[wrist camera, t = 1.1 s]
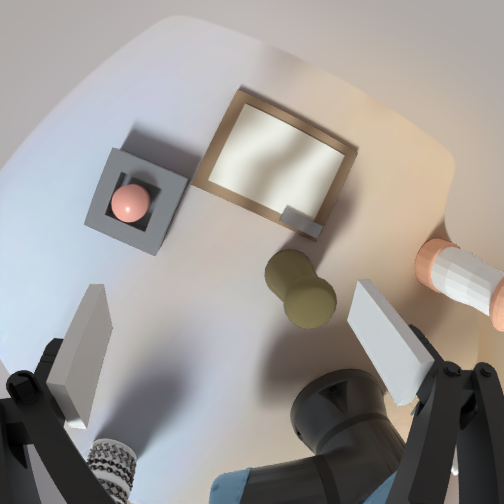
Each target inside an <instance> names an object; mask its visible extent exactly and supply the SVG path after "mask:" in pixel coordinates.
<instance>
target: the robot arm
mask: <svg viewBox="0 0 504 504" xmlns="http://www.w3.org/2000/svg"><path fill="white" fill-rule="evenodd" d="M347 321H348V323H349V325H350V326H351V328H352V330H353V331H354V333H355V335H356V336H357V338H358V340H359V341H360V343H361V345H362V346H363V348H364V350H365V351H366V353H367V355H368V356H369V358H370V360H371V361H372V363H373V365H374V366H375V368H376V370H377V372H378V373H379V375H380V377H381V378H382V380H383V382H384V384H385V385H386V387H387V389H388V391H389V392H390V394H391V396H392V398H393V399H394V401H395V403H396V405H397V406H398V407H399V406H402V405H406V404H409V403H411V402H412V401H413V399H414V397H415V395H417V396H418V398H419V402H418V403H417V405H416V406H415V408H414V410H413V411H412V413H411V415H413V414H414V412H415V414H414V417H413V421H412V425H411V428H410V432H409V435H408V439H407V442H406V443H405V442H404V440H403V439H402V438H401V436H400V435H399V433H398V432H397V430H396V429H395V428H394V426H393V425H392V423H391V422H390V420H389V419H388V417H387V413H386V408H385V404H384V399H383V392H382V390H381V388H380V386H379V384H378V383H377V382H376V380H375V379H374V378H373V377H372V376H371V375H370V374H368V373H366V372H364V371H361V370H355V369H346V370H340V371H335V372H332V373H329V374H327V375H325V376H323V377H321V378H319V379H317V380H315V381H314V382H312V383H311V384H310V385H308V386H307V387H306V388H305V389H304V390H303V391H302V392H301V393H300V394H299V396H298V397H297V398H296V400H295V402H294V404H293V406H292V409H291V415H290V417H291V422H292V426H293V428H294V431H295V433H296V435H297V436H298V438H299V439H300V440H301V441H302V442H303V443H304V444H305V445H306V446H307V447H308V448H309V449H310V450H311V451H312V452H313V453H314V454H315V455H316V456H313V457H308V458H303V459H299V460H294V461H290V462H285V463H280V464H274V465H269V466H263V467H257V468H251V467H250V468H247V469H246V470H240V471H235V472H229V473H224V474H221V475H219V476H218V477H217V478H216V479H215V480H214V482H213V484H212V487H211V491H210V498H209V504H444V500H445V496H446V492H447V488H448V483H449V479H450V474H451V469H452V464H453V459H454V454H455V448H456V449H457V461H458V478H459V504H504V395H503V391H502V388H501V385H500V382H499V379H498V376H497V372H496V371H495V369H494V368H493V367H492V366H491V365H489V364H488V363H484V362H480V363H478V364H476V366H475V368H474V369H473V370H462V369H461V368H460V367H459V366H458V365H457V364H455V363H453V362H449V361H444V360H443V359H442V357H441V356H440V355H439V354H438V352H437V351H436V350H435V348H434V347H433V346H432V345H431V344H430V343H429V341H428V340H427V338H425V336H424V335H423V333H422V332H421V331H420V330H419V329H417V328H416V327H415V326H413V325H412V324H411V325H407V324H406V323H405V321H404V320H403V319H402V318H401V316H400V315H399V314H398V313H397V312H396V310H395V309H394V308H393V307H392V305H391V304H390V303H389V302H388V301H387V299H386V298H385V297H384V296H383V294H382V293H381V292H380V291H379V290H378V289H377V287H376V286H375V285H374V284H373V283H372V281H371V280H370V279H367V280H358V281H357V285H356V289H355V293H354V297H353V301H352V305H351V308H350V312H349V316H348V319H347ZM112 329H113V327H112V322H111V318H110V313H109V308H108V304H107V299H106V293H105V288H104V284H90V285H89V287H88V289H87V291H86V293H85V295H84V297H83V299H82V301H81V303H80V305H79V307H78V309H77V312H76V314H75V316H74V318H73V320H72V322H71V324H70V327H69V329H68V331H67V333H66V335H65V338H64V339H58V338H54V339H53V340H52V341H51V342H50V343H49V344H48V345H47V346H46V348H45V350H44V352H43V355H42V357H41V359H40V362H39V363H38V366H37V368H36V370H35V372H34V374H33V373H32V372H30V371H27V370H21V371H17V372H15V373H14V374H12V375H11V376H10V377H9V378H8V380H7V383H6V389H7V391H8V393H9V394H10V396H11V398H5V399H0V504H41V501H40V498H39V494H38V490H37V487H36V483H35V479H34V475H33V471H32V467H31V463H30V458H29V454H28V449H27V445H28V444H34V446H35V448H36V450H37V452H38V454H39V456H40V458H41V460H42V462H43V464H44V465H45V467H46V469H47V471H48V473H49V474H50V476H51V478H52V479H53V481H54V483H55V485H56V486H57V488H58V490H59V491H60V493H61V494H62V496H63V498H64V499H65V501H66V502H67V504H117V503H116V501H115V500H114V499H113V498H112V496H111V495H110V494H109V493H108V491H107V490H106V489H105V488H104V486H103V485H102V484H101V482H100V481H99V480H98V478H97V477H96V476H95V474H94V473H93V471H92V470H91V469H90V467H89V466H88V464H87V463H86V461H85V460H84V459H83V457H82V456H81V454H80V453H79V451H78V450H77V448H76V446H75V445H74V443H73V442H72V440H71V439H70V437H69V435H68V434H67V432H66V430H65V429H64V423H65V419H66V421H67V423H68V424H69V426H70V427H74V428H81V429H87V426H88V421H89V417H90V412H91V408H92V404H93V399H94V395H95V391H96V387H97V383H98V379H99V375H100V371H101V368H102V364H103V360H104V357H105V353H106V350H107V346H108V343H109V339H110V336H111V332H112Z"/></svg>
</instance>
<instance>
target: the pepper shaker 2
mask: <svg viewBox="0 0 504 504" xmlns="http://www.w3.org/2000/svg"><path fill="white" fill-rule="evenodd" d="M415 273H416V277H417V278H418V280H419V282H421V283H422V284H424V285H425V286H427V287H429V288H430V289H432V290H433V291H435V292H437V293H444V294H445V295H447V296H448V297H450V298H451V299H453V300H455V301H458V302H461V303H464V304H467V305H470V306H473V307H474V308H476V309H478V310H479V311H481V312H483V313H484V314H486V315H488V316H489V317H490V320H491V322H492V325H493V326H494V328H495V329H497V330H498V331H501V332H504V272H503V271H501V270H499V269H497V268H494V267H492V266H490V265H488V264H487V263H485V262H484V261H483V260H481V259H480V258H478V257H477V256H476V255H474V254H473V253H470V252H467V251H464V250H462V249H460V247H458V246H457V245H456V244H453V243H451V242H448V241H445V240H443V239H439V238H435V239H431V240H429V241H428V242H426V243H425V244H424V245H423V246H422V247H421V249H420V251H419V253H418V254H417V258H416V261H415Z"/></svg>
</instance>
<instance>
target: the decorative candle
mask: <svg viewBox="0 0 504 504" xmlns="http://www.w3.org/2000/svg"><path fill="white" fill-rule="evenodd" d="M91 448H92V449H90V451H91V453H89V455H88V457H89V458H90V459H87V461H88V462H86V463H87V464H88V466H89V467H90V469H91V470H92V471H93V473H94V474H95V476H96V477H97V478H98V480H99V481H100V482H101V484H102V485H103V486H104V488H105V489H106V490H107V491H108V493H109V494H110V495H111V496H112V498H113V499H114V500H115V501H116V503H117V504H127V499H128V498H129V494H130V491H131V490H132V489H131V488H132V487H133V485H132V483H133V482H132V481H133V480H134V479H133V477H134V474H135V468H136V462H137V457H136V454H135V453H134V451H133V450H132V449H131V448H130V447H128V446H127V445H126V444H124V443H121V442H119V441H117V440H113V439H108V438H105V439H98V440H96V441H94V442H93V444H92V447H91Z"/></svg>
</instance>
